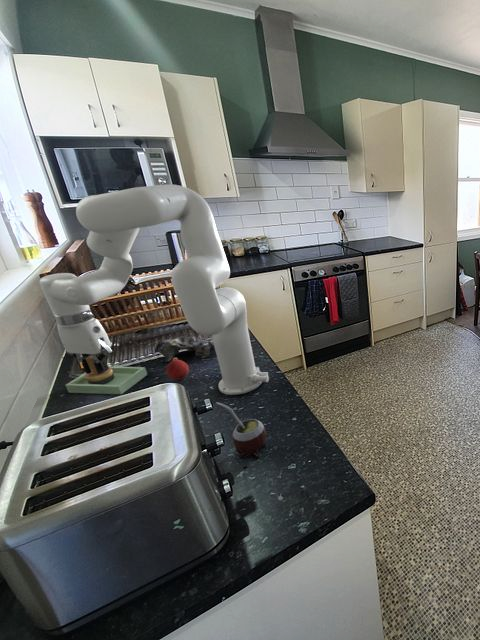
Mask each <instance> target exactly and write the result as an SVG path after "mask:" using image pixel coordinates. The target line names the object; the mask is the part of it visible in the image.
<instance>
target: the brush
mask: <svg viewBox="0 0 480 640" xmlns="http://www.w3.org/2000/svg"><path fill="white" fill-rule="evenodd" d="M86 361H87V363H88V365H89V368H90V370H91V373H90V374H85V376H84V377H85V379H86V381H88V383H89V384H96V385H104V384H106V383H109V382H110V381H112V380H113V379H114V375H113V370H112V368H110V367H109V369H108V370H107V371H105V372H104V373H102V374H98V372H97V370H96V368H95V365H94V363H95V361H94V359H93V357H92V355H91V354H90V356H88V357H86Z"/></svg>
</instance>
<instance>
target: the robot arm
mask: <svg viewBox="0 0 480 640" xmlns="http://www.w3.org/2000/svg"><path fill="white" fill-rule="evenodd" d="M75 215H76V219H77V220H78V222H79V224H80V225H81V226H82V227H83V228H85V229H86V230H88V231H89V233H88V235H87V237H86V241H85V243H86V245H87V247H88V248H89V249H90V250H91V251H92V252H93V253H95V254H97V255H99V256H102V257H103V260H102V262H101V265H100V267H99V268H98V269H96V270H93V271H90V272H88V273H86V274H82V275H79V276H77V275H76V274H74V273H68V272H58V273H52V274H48V275H45V276H43V277H41V278H40V279H39V283H38V285H39V286H40V288H41V292H42V293H43V296H44V297H45V299H46V302H47V304H48V306H49V309H50V310H51V313H52V315H53V318H54V319H55V322H56V328H57V332H58V336H59V338H60V342H61V344H62V346H63V348H64V350H65V353H66V354H67V355H70V356H72V357H74V358H76V359H77V361H78V363H81V365H82V367H83V370H84V373H86V374H90V373H91V370H90V368H89V365H88V363H87V361H86V357H88V356H91V355H92V357H93V359H94V361H95V363H94V365H95V368H96V370H97V372H98V374H102V373H104V372H105V371H107V370H108V369H109V367H108V366H109V365H108V362H107V360H106V359H107V357H108V356H109V355H111V354H113V353H114V351H113V350H112V349H111V347H112V343H111V341H110V338H109V335H108V334H107V332H106V330H105V328H104V327H103V325H102V324H101V323H100V321H99V320H98V318H95V314H94V313H93V312H92V309H91V305H94V304H96V303H99V302H100V301H102V300H104V299H106V298H108V297H111V296H113V295H115V294H117V293H119V292H121V291H122V290H123V289H124V288H125V287H126V285H127V283H128V281H129V280H130V278H131V275H132V274H133V273H132V272H133V271H134V270H133V269H134V264H133V259H132V256H131V254H130V251H131V250H132V247H133V245H134V242H135V240H136V238H137V236H138V234H139V231H140V229H141V228H146V227H152V226H157V225H160V224H165V223H168V222H172V221H179V222H180V229H179V230H180V231H179V232H180V239H181V242H182V245H183V247H184V251H185V254H186V259H183V260H181V261H179V262H178V263H177V264H176V265H175V266H174V268H173V269H172V271H171V285H172V288H173V290H174V291H173V292H174V293H175V295H176V298H177V300H178V302H179V305H180V308H181V310H182V313H183V316H184V318H185V319H186V322H187V324H188V325H189V326H190V328H191V329H192V330H193V331H195V333H198V334H199V335H202V336H206V337H210V336H211V338H212V339H213V343H214V345H213V347H214V351H215V355H216V358H217V362H218V366H219V370H220V374H221V380H219V381H218V390H219V392H221V393H222V394H224V395H227V396H237V395H243V394H247V393H250V392H252V391H254V390H256V389H257V388H259V386H261V385H262V383H268V382H269V380H270V376H269V372H268V371H263V372H262V371H261V370H260V367H259V366H256V363H255V358H254V353H253V348H252V344H251V339H250V338H251V337H250V331H249V326H248V315H247V314H248V309H247V303H246V299H245V297H244V295H243V294H242V293H241V292H240V291H239V290H237V289H236V288H233V287H228V286H225V287H220V286H221V285H224V283H225V282H227V281H228V280H229V278H230V277H231V269H230V265H229V262H228V258H227V256H226V253H225V250H224V247H223V244H222V240H221V237H220V236H219V233H218V229H217V226H216V222H215V218H214V215H213V211H212V209H211V207H210V206H209V203H208V202H207V200H206V199H205V198H204V197H202V196H201V194H199V193H198V192H197V191H195V190H193V189H192V188H188V187H186V186H183V185H178V184H169V183H168V184H156V185H147V186H137V187H131V188H126V189H121V190H116V191H111V192H110V191H109V192H106V193H99V194H93V195H87V196H85V197H83V198H82V199H80V200H79V202H78V203H77V204H76V208H75ZM218 287H219V288H218Z"/></svg>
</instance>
